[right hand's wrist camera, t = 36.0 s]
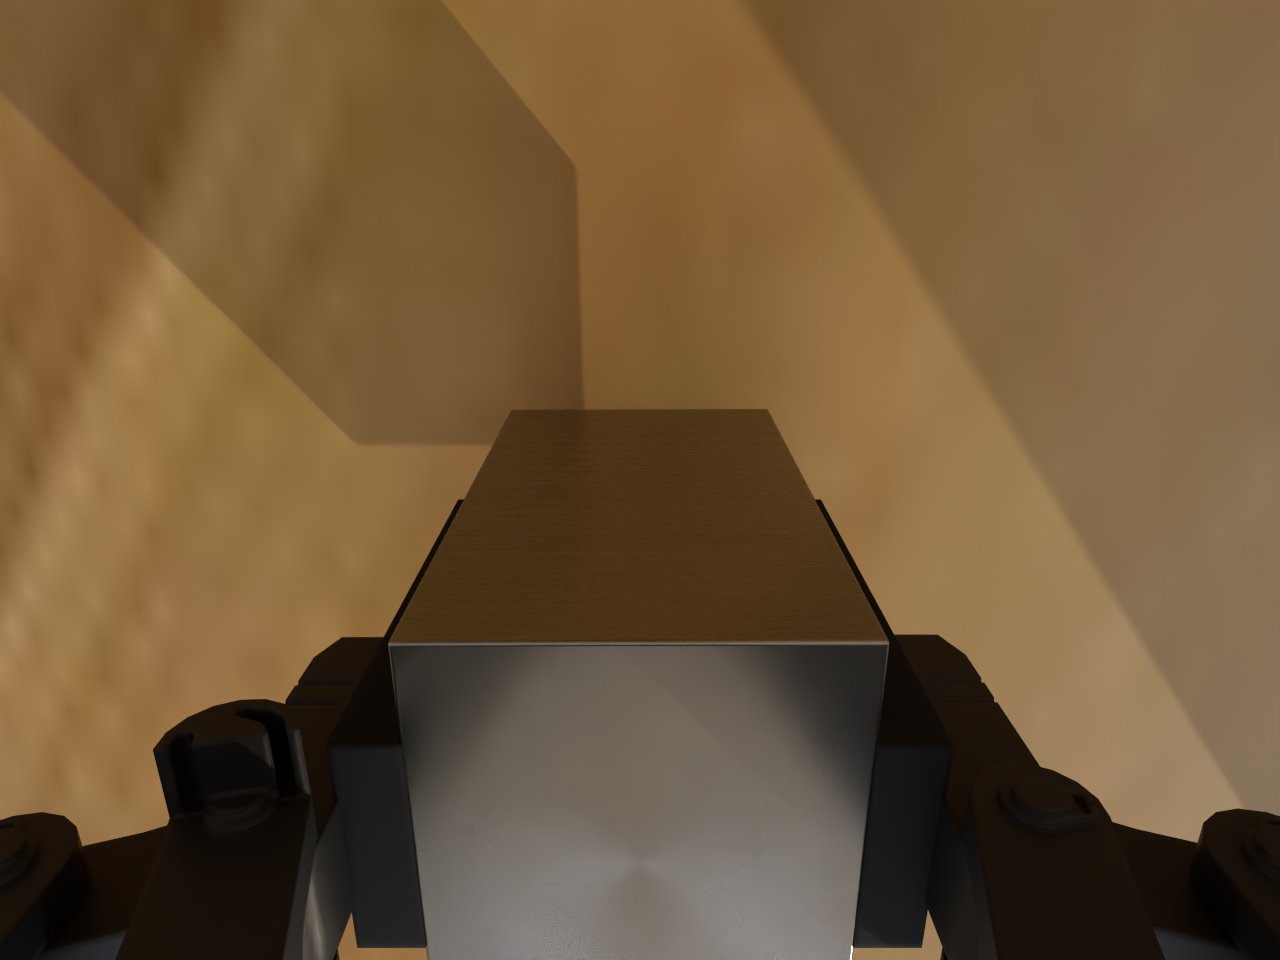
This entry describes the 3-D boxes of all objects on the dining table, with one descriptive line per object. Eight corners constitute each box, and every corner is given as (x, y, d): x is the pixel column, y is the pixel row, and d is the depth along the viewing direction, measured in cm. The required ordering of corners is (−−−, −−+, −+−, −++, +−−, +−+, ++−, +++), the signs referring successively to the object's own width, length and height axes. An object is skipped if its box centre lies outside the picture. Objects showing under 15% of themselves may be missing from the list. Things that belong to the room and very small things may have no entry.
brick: (754, 660, 17) (844, 1042, 10) (525, 661, 17) (436, 1043, 10) (768, 408, 15) (892, 640, 8) (510, 409, 15) (386, 642, 8)
